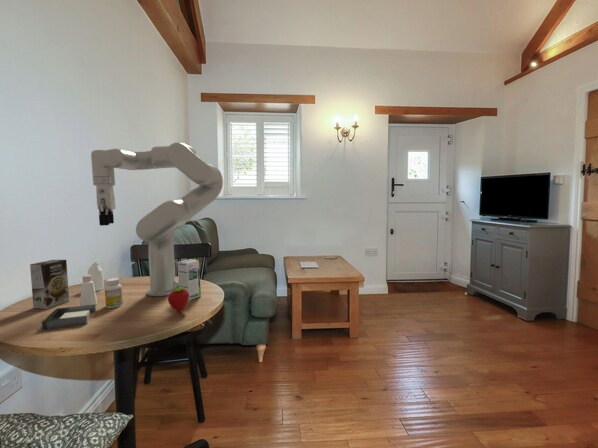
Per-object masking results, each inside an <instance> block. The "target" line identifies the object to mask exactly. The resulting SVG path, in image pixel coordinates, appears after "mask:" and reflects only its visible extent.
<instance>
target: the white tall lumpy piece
mask: <svg viewBox="0 0 598 448" xmlns="http://www.w3.org/2000/svg"><path fill="white" fill-rule="evenodd" d="M87 275H91V281H93V283H94V288H95V292H98V291H99V292H100V291H103V290H105V280H104V270H103V269H102V268H101V267H100V264H99V262H98V261H95V262H93V263H92V264H91V265H90V267H88V269H87Z"/></svg>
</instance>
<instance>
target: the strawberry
mask: <svg viewBox="0 0 598 448" xmlns="http://www.w3.org/2000/svg"><path fill="white" fill-rule="evenodd" d="M173 289H175V290H173V291H174V292H173V291H170V292H172V293H170V294H169V295H167V296H168V298H167V301H168V304H169V305H170V306H171V308H172V309H173V310H175V312H177V313H178V314H180V313H182V312H183V311H184V309H185V307H186V306H187V303H188V302H189V300H188V299H189V293H188V292H187V291H186V290H185V289H184V288H173Z"/></svg>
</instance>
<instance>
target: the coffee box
mask: <svg viewBox="0 0 598 448" xmlns="http://www.w3.org/2000/svg"><path fill="white" fill-rule="evenodd" d="M67 263H68V262H67V259H51V260H45V261H40V262H35V263H30V264H29V266H30V267H29V269H30V281H31V282H30V283H31V295H32V307H33V309H44V310H47V309H48V310H49V309H50V308H54V307H57V306H60V305H61V304H65V303H68V302H70V292H69V289H70V288H69V279H68V278H69V277H68V266H67V265H68V264H67Z"/></svg>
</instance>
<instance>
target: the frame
mask: <svg viewBox="0 0 598 448" xmlns="http://www.w3.org/2000/svg"><path fill="white" fill-rule="evenodd" d="M96 306H97V304H96V305H95V304H92V305H84V306H80V305H79V306H78V305H77V306H70V307H69V306H68V307H67V306H66V307H59V308H56V309H54V311H52V312H51V313H50V314H49V315H48V316H46V317H45V318H44V319H43V320H42V321H41V329H42V331H47V330H54V329H63V328H71V327H77V326H79V327H80V326H85V325H88V318H87V315H85V316H77V317H69V318H61V317H62V316H63V314H64V313H70V312H78V311H87V310H90V314H94V313H96V312H97V309H96V308H97V307H96ZM60 318H61V319H60Z"/></svg>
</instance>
